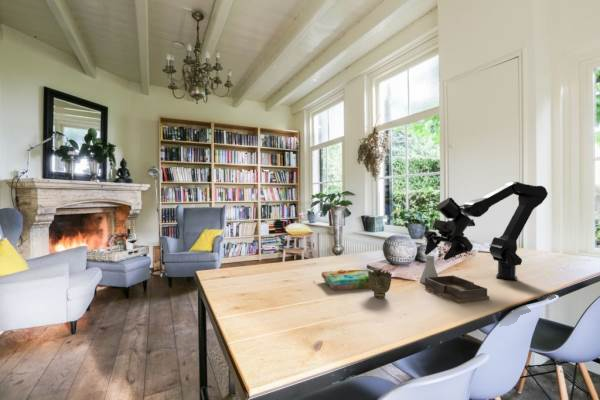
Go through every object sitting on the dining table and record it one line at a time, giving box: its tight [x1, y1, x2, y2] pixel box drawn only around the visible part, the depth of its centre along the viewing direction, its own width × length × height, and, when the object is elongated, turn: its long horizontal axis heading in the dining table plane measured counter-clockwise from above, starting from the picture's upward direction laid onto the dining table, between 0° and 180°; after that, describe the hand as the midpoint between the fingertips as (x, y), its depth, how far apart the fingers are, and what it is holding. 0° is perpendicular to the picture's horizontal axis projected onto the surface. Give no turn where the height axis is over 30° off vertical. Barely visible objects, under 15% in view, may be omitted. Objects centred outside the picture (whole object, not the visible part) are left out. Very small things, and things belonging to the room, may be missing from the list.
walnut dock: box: [424, 274, 491, 304], centre depth 96 cm, size 15×12×4 cm
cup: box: [368, 269, 393, 299], centre depth 93 cm, size 8×7×8 cm
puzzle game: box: [321, 268, 374, 291], centre depth 105 cm, size 12×5×20 cm
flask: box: [419, 255, 439, 285], centre depth 108 cm, size 7×7×10 cm
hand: (434, 256), depth 108 cm, fingers open, 9 cm apart
